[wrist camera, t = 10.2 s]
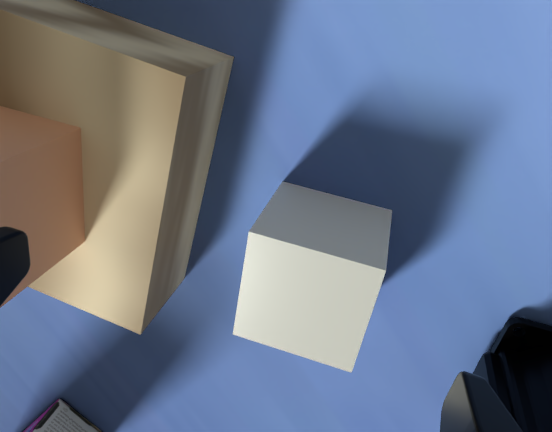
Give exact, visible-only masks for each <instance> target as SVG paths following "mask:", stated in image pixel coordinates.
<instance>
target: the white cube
mask: <svg viewBox="0 0 552 432" xmlns="http://www.w3.org/2000/svg"><path fill="white" fill-rule="evenodd" d="M391 218H392V210H389V209H386V208H382V207H378V206H374V205H371V204H367V203H363V202H359V201H355V200H352V199H348V198H344V197H340V196H336V195H333V194H329V193H325V192H321V191H318V190H314V189H310V188H306V187H302V186H299V185H295V184H291V183H287V182H283V181H282V183H281V184H280V186H279V187H278V189H277V190H276V192H275V193H274V195H273V196H272V198H271V199H270V201H269V202H268V204H267V205H266V207H265V208H264V210H263V211H262V213H261V214H260V216H259V217H258V219H257V220H256V222H255V223H254V225H253V226H252V228H251V229H250V231H249V234H248V241H247V247H246V253H245V260H244V266H243V273H242V279H241V285H240V292H239V298H238V304H237V311H236V317H235V324H234V330H233V335H236V336H240V337H243V338H246V339H249V340H252V341H255V342H258V343H261V344H264V345H267V346H271V347H274V348H277V349H280V350H283V351H286V352H289V353H292V354H295V355H299V356H302V357H305V358H308V359H311V360H314V361H317V362H320V363H323V364H326V365H330V366H333V367H336V368H339V369H342V370H345V371H348V372H352V370H353V367H354V364H355V361H356V358H357V355H358V352H359V349H360V346H361V343H362V340H363V337H364V334H365V331H366V328H367V325H368V323H369V320H370V317H371V314H372V311H373V308H374V305H375V302H376V299H377V296H378V293H379V290H380V287H381V284H382V281H383V279H384V276H385V273H386V267H387V258H388V248H389V238H390V228H391Z"/></svg>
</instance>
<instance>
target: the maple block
mask: <svg viewBox="0 0 552 432" xmlns="http://www.w3.org/2000/svg"><path fill="white" fill-rule="evenodd" d="M233 59H234V57H233V56H230V55H227V54H225V53H222V52H219V51H216V50H213V49H211V48H208V47H205V46H202V45H199V44H196V43H194V42H191V41H188V40H185V39H182V38H180V37H177V36H174V35H171V34H168V33H165V32H163V31H160V30H157V29H154V28H151V27H149V26H146V25H143V24H140V23H137V22H134V21H132V20H129V19H126V18H123V17H120V16H118V15H115V14H112V13H109V12H106V11H103V10H101V9H98V8H95V7H92V6H89V5H87V4H84V3H81V2H78V1H75V0H0V106H3V107H6V108H10V109H14V110H17V111H21V112H25V113H28V114H32V115H36V116H39V117H43V118H47V119H50V120H54V121H58V122H62V123H65V124H69V125H73V126H76V127H80V128H81V145H82V171H83V197H84V224H85V242H84V243H83V244H81V245H80V246H79V247H77V248H76V249H75V250H74V251H72V252H71V253H70V254H68V255H67V256H66V257H65V258H63V259H62V260H61V261H59V262H58V263H57V264H56V265H54V266H53V267H52V268H50V269H49V270H48V271H47V272H45V273H44V274H43V275H41V276H40V277H39V278H38V279H36V280H35V281H34V282H32V283H31V284H30V285H29V286H28V287H30V288H33V289H35V290H37V291H40V292H42V293H44V294H47V295H49V296H51V297H54V298H56V299H58V300H61V301H63V302H65V303H68V304H70V305H72V306H75V307H77V308H79V309H82V310H84V311H86V312H89V313H91V314H93V315H96V316H98V317H100V318H103V319H105V320H107V321H110V322H112V323H114V324H117V325H119V326H121V327H124V328H126V329H128V330H131V331H133V332H135V333H138V334H140V335H141V334H142V332H143V331H144V330H145V328H146V327H147V326H148V325H149V323H150V322H151V321H152V319H153V318H154V317H155V316H156V314H157V313H158V312H159V310H160V309H161V308H162V307H163V305H164V304H165V303H166V302H167V300H168V299H169V298H170V296H171V295H172V294H173V293H174V291H175V290H176V289H177V287H178V286H179V285H180V284H181V282H182V281H183V280H184V278H185V274H186V269H187V265H188V260H189V256H190V252H191V247H192V243H193V238H194V234H195V229H196V225H197V220H198V216H199V211H200V207H201V202H202V198H203V193H204V189H205V184H206V180H207V175H208V171H209V167H210V162H211V158H212V153H213V149H214V144H215V140H216V135H217V131H218V126H219V122H220V117H221V113H222V108H223V104H224V99H225V95H226V90H227V86H228V82H229V77H230V73H231V68H232V64H233Z"/></svg>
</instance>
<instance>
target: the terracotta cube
mask: <svg viewBox="0 0 552 432" xmlns="http://www.w3.org/2000/svg"><path fill="white" fill-rule="evenodd" d="M5 226H8V227H12V228H15V229H18V230H21V231H24V232H25V233H26V235H27V236H28V243H29V252H30V262H31V264H30V269H29V271H28V273H27V275H26V276H25V277H24V279H23V280H22V281H21V282H20V283H19V285H18V286H17V287H16V288H15V289H14V291H13V292H12V293H11V294H10V295H9V297H8V298H7V299H6V300H5V301H4V303H3V304H2V305H1V306H0V307H2V306H3V305H4V304H6V303H7V302H8V301H9V300H11V299H12V298H13V297H15V296H16V295H17V294H18V293H20V292H21V291H22V290H24V289H25V288H26V287H27V286H29V285H30V284H31V283H32V282H34V281H35V280H36V279H38V278H39V277H40V276H41V275H43V274H44V273H45V272H47V271H48V270H49V269H50V268H52V267H53V266H54V265H56V264H57V263H58V262H59V261H61V260H62V259H63V258H65V257H66V256H67V255H68V254H70V253H71V252H72V251H74V250H75V249H76V248H77V247H79V246H80V245H81V244H83V243H84V242H85V224H84V197H83V171H82V145H81V128H80V127H76V126H73V125H69V124H65V123H62V122H58V121H54V120H50V119H47V118H43V117H39V116H36V115H32V114H28V113H25V112H21V111H17V110H14V109H10V108H6V107H3V106H0V227H5Z"/></svg>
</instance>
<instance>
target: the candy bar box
mask: <svg viewBox="0 0 552 432" xmlns="http://www.w3.org/2000/svg"><path fill="white" fill-rule="evenodd" d="M23 432H102V431H101V430H99V429H98V428H97V427H96V426H95V425H93V424H92V423H90V422H89V421H88V420H87V419H86V418H84V417H83V416H82V415H80V414H79V413H78V412H76V411H75V410H74V409H73V408H72V407H70V406H69V405H68V404H67V403H65V402H64V401H63V400H61V399H58V400H57V401H56V402H55V403H53V404H52V405H51V406H50V407H49V408H48V409H47V410H46V411H45V412H44V413H43V414H42V415H40V416H39V417H38V418H37V419H36V420H35V421H34V422H33V423H32V424H31V425H30V426H29V427H28V428H26V429H25V430H24V431H23Z"/></svg>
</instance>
